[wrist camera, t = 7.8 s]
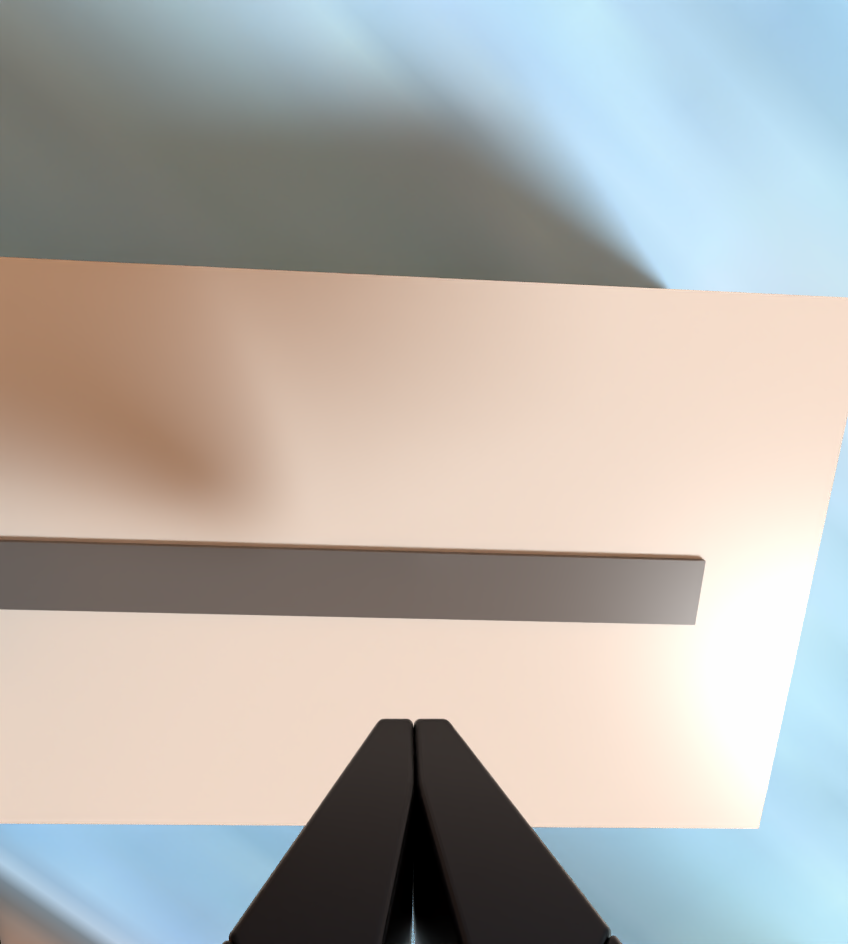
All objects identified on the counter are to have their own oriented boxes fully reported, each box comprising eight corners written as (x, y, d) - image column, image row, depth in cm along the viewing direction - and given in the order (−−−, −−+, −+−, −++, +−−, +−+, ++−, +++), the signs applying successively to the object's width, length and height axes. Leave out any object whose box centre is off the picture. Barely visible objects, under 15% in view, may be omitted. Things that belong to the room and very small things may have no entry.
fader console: (631, 643, 19) (761, 833, 12) (-126, 627, 18) (-445, 824, 11) (680, 301, 17) (877, 298, 10) (-197, 259, 16) (-665, 224, 9)
